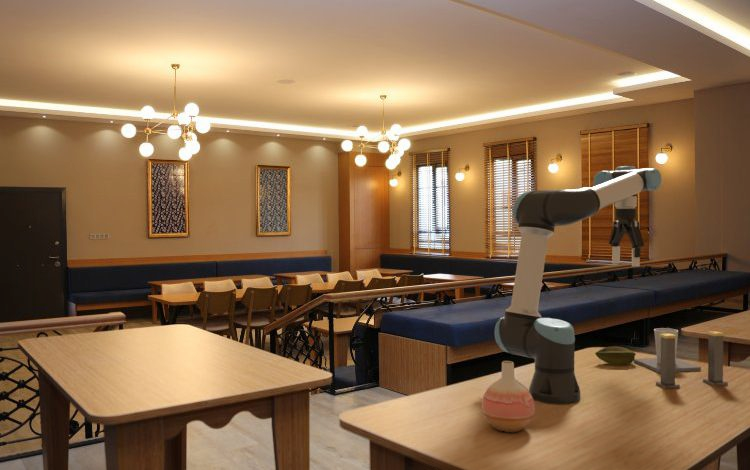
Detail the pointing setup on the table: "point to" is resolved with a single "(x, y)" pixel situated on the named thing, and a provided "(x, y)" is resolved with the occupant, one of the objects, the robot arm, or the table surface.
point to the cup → (658, 341)
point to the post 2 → (715, 359)
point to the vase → (508, 402)
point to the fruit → (616, 356)
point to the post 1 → (668, 362)
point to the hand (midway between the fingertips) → (625, 265)
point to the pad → (655, 366)
